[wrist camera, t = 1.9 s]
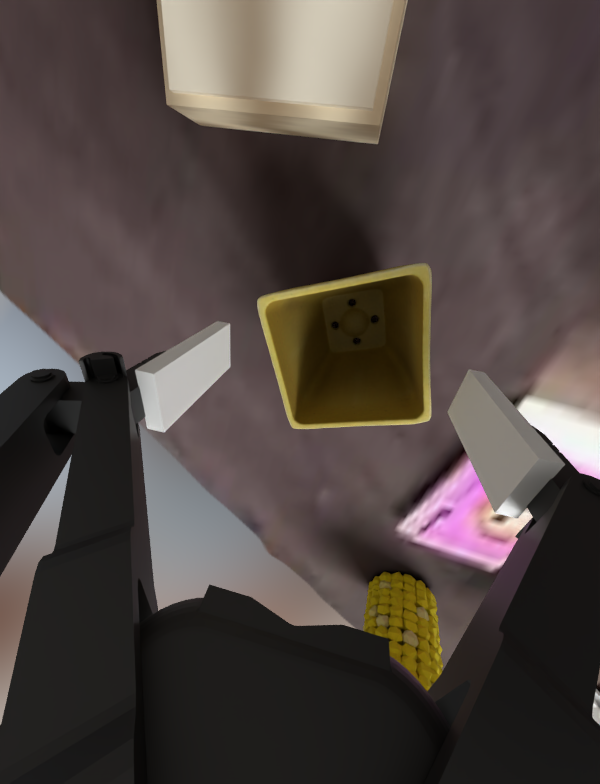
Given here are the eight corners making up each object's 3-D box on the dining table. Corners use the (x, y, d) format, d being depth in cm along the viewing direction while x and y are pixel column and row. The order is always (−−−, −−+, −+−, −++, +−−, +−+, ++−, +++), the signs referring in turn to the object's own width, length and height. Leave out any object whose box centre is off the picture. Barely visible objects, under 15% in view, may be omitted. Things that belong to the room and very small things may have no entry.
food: (422, 596, 44) (359, 575, 45) (454, 579, 35) (375, 554, 37) (427, 745, 33) (345, 710, 35) (473, 770, 25) (362, 723, 27)
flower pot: (292, 274, 22) (252, 297, 14) (408, 249, 19) (433, 260, 12) (313, 372, 26) (290, 430, 18) (411, 362, 23) (431, 424, 16)
